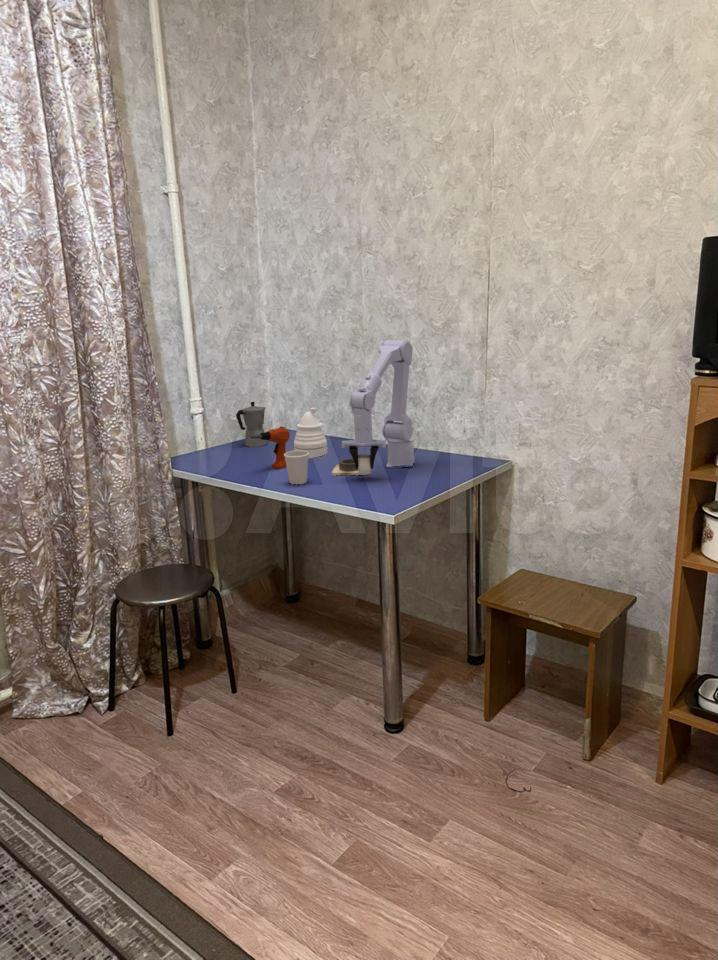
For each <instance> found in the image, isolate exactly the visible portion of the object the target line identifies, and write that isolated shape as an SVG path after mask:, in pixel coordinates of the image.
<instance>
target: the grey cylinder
mask: <svg viewBox="0 0 718 960" xmlns="http://www.w3.org/2000/svg"><path fill="white" fill-rule="evenodd" d="M358 473H359V474H362V475H366V474H367V475H370V474H372V469H371V453H361V454H359V453H358ZM367 475H366V476H367Z"/></svg>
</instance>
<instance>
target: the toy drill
mask: <svg viewBox="0 0 718 960" xmlns="http://www.w3.org/2000/svg"><path fill="white" fill-rule="evenodd" d="M290 436H291V433H290V431H289V430H288V429H286V428H285V427H284V426H279V427H278V428H277V427H276V428H272V429H269V430H267V431H264V433H261V434H260V435H256V436H251V437H250V438H251V439H253V438H260V439H262V440H266V441H269V442H273V443H275V447H274V450H273V453H274V454H275V461H274V462H273V463H272V464H271V466H270V467H271V469H275V470H279V469H285V468H287V466H286V461H285V456H284V454H285V453H286V452H287V451H286V449H287V448H286V443H287V442H288V441H289V439H290Z"/></svg>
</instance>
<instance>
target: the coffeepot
mask: <svg viewBox="0 0 718 960" xmlns="http://www.w3.org/2000/svg"><path fill="white" fill-rule="evenodd" d="M255 403H256V402H255V401H251V402H250V405H251V406H248V407H244V408H243V409H239V410H238V411H237V412H236V414H235V418H236V420H237V423H238V425H239V427H240V430H241V431H245V436H244V446H245V445H246V446H245V447H247V446H249V447H248V448H258V447H257V446H260V447H264V446H266V445H267V444H268V442H267V441H268V440H262V439H260V438H253V439H251V438H250V437H251V436H256V435H260V434H261V433H264V432H265V430H264V428H263V427H264V424H265V423H264V422H265V411H266V409H267V407H264V406H257V405H255ZM241 416H242V417H243V418H241ZM242 419H243V420H242ZM243 422H244V424H243ZM244 425H245V427H244ZM265 444H266V445H265ZM263 445H264V446H263Z"/></svg>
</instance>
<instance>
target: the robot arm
mask: <svg viewBox="0 0 718 960" xmlns="http://www.w3.org/2000/svg"><path fill="white" fill-rule="evenodd" d="M413 351H414V350H413V346H412V344H411V342H410V340H408V339H405V340H402V339H401V340H396V339H395V340H391V339H389V340H388V339H383V340H382V341H381V343H380V345H379V347H378V354H379V355H378V357H377V360H376V362H375V364H374V366H373V369H372V371H371V373H367V374H366V375H365V377H364V379H363V381H362V382H361V384H360V386H359V388H358V389H357V391H355V392H353V393H352V394H351V396H350V399H349V407H350V408H351V411H352V413H351V414H352V415H353V421H354V423H353V424H354V425H353V426H354V439H350V440H342V441H341V448H342V449H344V448H348V452H349V454H350V455H351V457H352V459H353V460H354V463H355V466H356V469H358V455H359V448H370V450H369V451H370V452H369V454H370V455H371V470H373V469H374V466H375V460H376V455H377V453H378V451H379V448H386V447H387V462H386V466H385V467H386V468H393V467H392V466H400V465H413V463H414V464H415V460H416V459H415V448H414V446H415V445H414V440H411V439H412V437H413V434H414V433H413V432H414V427H413V419H412V418H411V417H410V416H409V415H408V414H407V402H408V401H407V400H408V390H409V389H408V388H409V378H410V377H409V376H410V366H411V365H412V361H413ZM390 365H392V367H393V368H394V370H393V381H392V394H391V395H392V396H391V408H390V413H389V414H387V415H386V416H385V417H384V422H383V425H382V427H381V428H382V429H381V433H382V436H383V438H384V439H383V440H382V439H373V427H372V426H373V422H372V419H373V418H372V409H373V408H374V406H375V403H376V398H377V393H378V391H379V389H380V387H381V385H382V383H383V382H382V376H383V375H384V374H385V372H386V371H387V369H388V368H389V366H390ZM413 466H414V465H413Z"/></svg>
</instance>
